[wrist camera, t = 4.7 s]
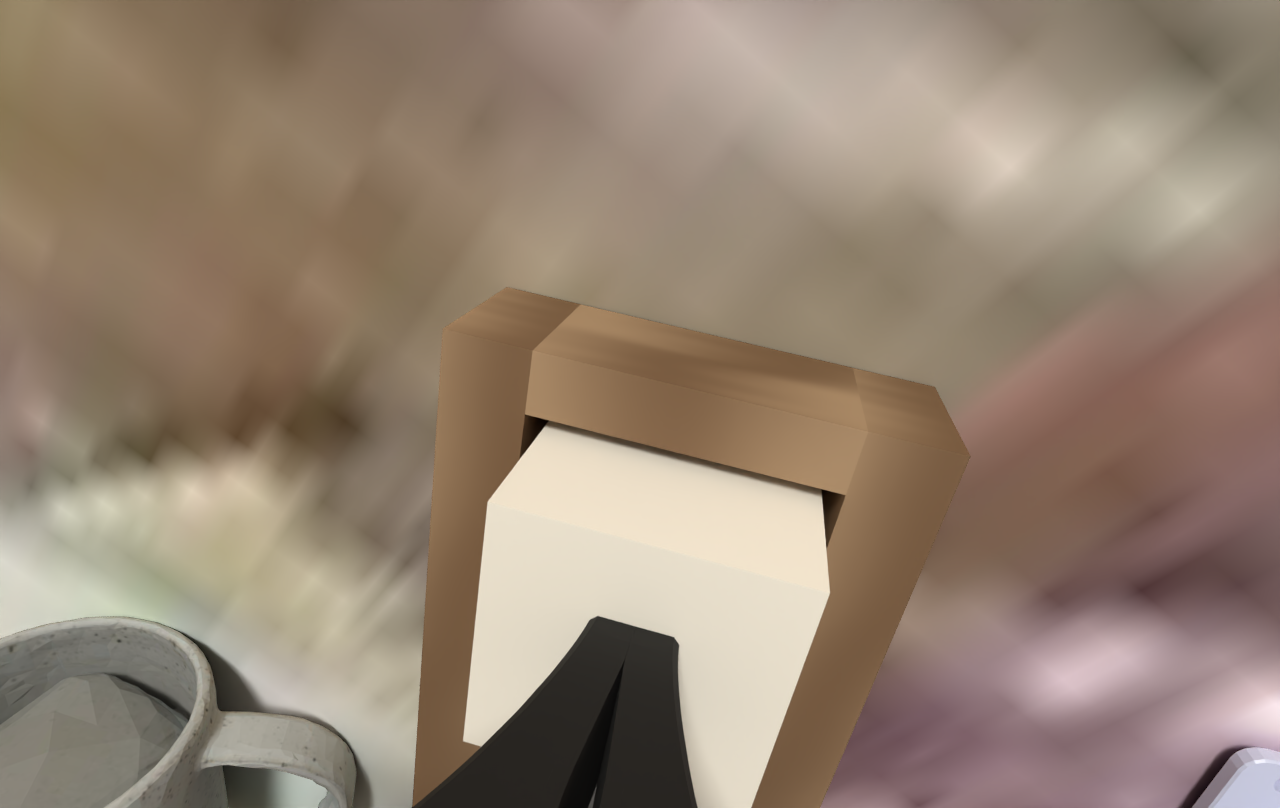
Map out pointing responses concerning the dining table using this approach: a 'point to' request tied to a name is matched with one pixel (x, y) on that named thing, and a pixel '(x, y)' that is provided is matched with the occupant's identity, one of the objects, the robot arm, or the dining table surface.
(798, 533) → the key ivory
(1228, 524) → the dining table surface
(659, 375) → the keypad frame
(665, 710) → the robot arm
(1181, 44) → the dining table surface
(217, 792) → the ceramic mug
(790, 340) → the dining table surface
